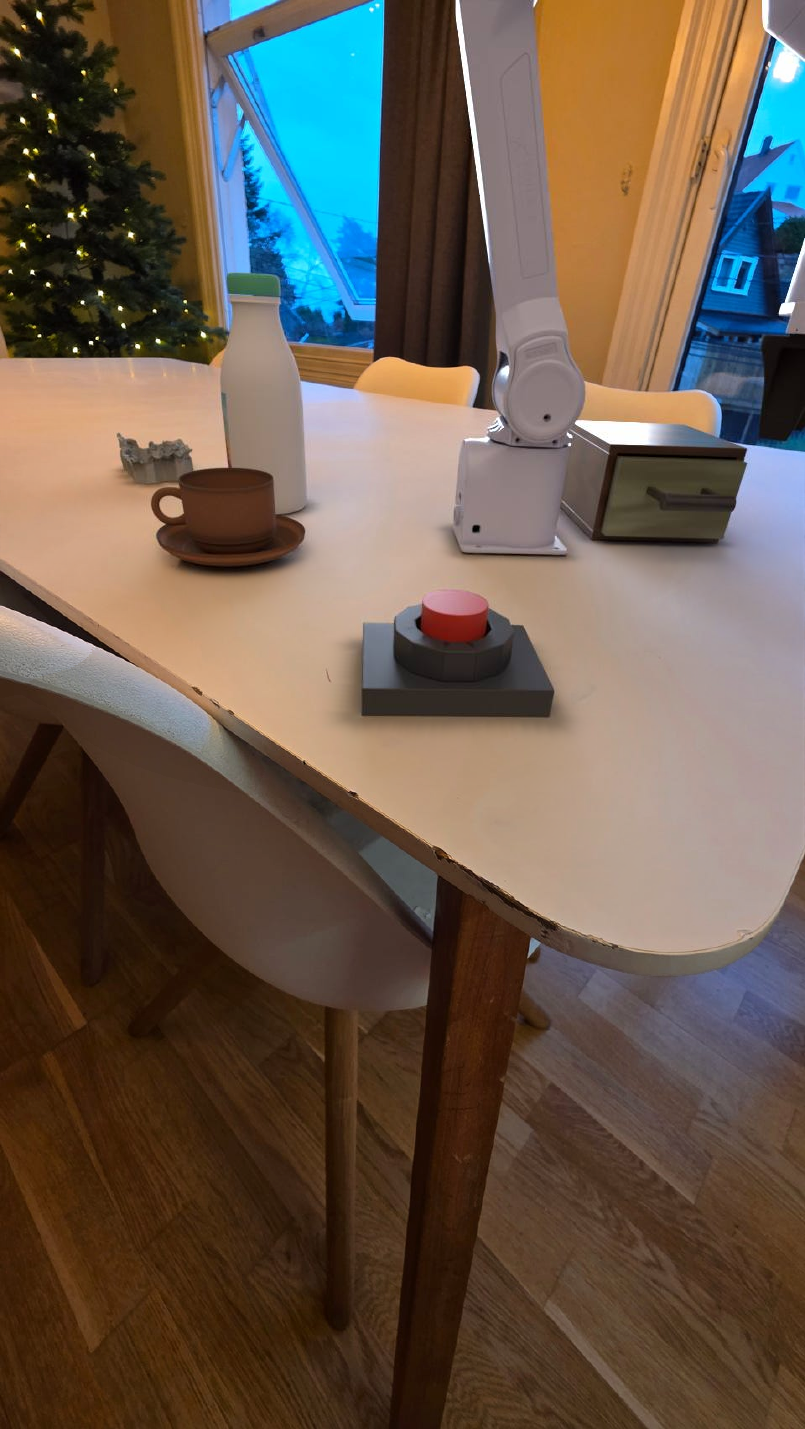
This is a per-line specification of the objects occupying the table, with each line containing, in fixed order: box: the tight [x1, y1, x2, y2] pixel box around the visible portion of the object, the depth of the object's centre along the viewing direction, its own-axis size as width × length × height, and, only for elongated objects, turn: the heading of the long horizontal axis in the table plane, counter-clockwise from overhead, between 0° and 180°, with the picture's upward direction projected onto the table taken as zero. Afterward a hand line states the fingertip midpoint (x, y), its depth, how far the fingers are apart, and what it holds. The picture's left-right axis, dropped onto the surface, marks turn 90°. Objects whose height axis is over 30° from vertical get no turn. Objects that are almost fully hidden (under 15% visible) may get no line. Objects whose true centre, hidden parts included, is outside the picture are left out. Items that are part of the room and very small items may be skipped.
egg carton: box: [116, 432, 194, 485], centre depth 74 cm, size 11×8×4 cm
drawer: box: [601, 454, 748, 540], centre depth 60 cm, size 17×11×7 cm, turn 3°
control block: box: [361, 603, 555, 718], centre depth 35 cm, size 10×8×4 cm
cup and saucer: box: [150, 467, 306, 567], centre depth 51 cm, size 12×12×6 cm
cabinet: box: [560, 420, 748, 544], centre depth 64 cm, size 14×13×9 cm
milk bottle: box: [219, 272, 308, 515], centre depth 60 cm, size 8×8×20 cm
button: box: [421, 589, 490, 642], centre depth 34 cm, size 4×4×2 cm
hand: (781, 434), depth 53 cm, fingers open, 7 cm apart
